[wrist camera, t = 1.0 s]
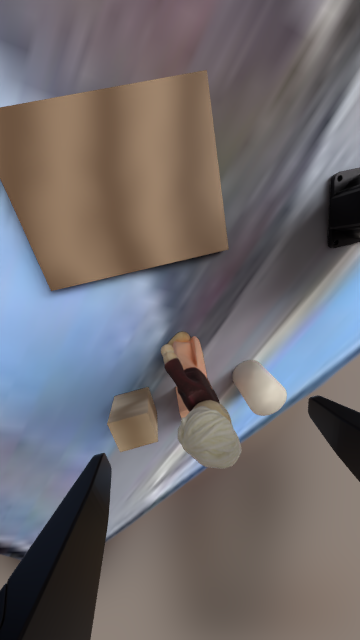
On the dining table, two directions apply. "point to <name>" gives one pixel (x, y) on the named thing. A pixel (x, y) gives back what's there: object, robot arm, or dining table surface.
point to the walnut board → (115, 178)
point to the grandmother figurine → (200, 406)
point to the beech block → (133, 419)
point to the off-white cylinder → (259, 388)
